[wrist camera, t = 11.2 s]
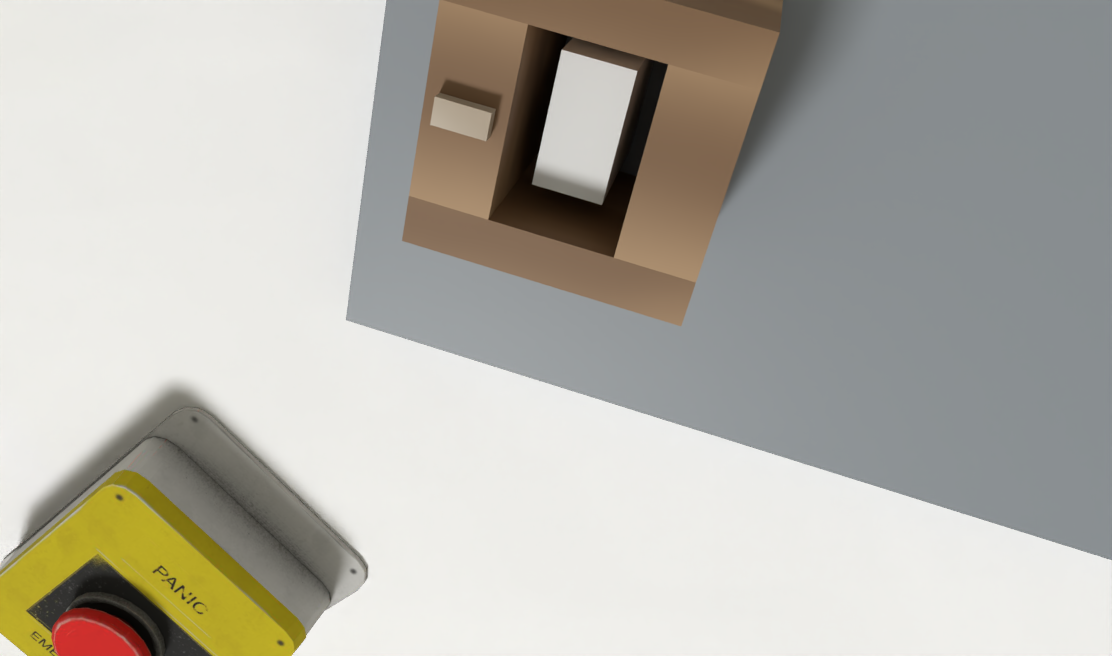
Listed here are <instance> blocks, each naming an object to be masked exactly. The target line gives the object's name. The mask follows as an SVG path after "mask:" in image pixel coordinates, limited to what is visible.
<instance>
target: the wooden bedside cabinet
mask: <svg viewBox="0 0 1112 656" xmlns="http://www.w3.org/2000/svg"><path fill="white" fill-rule="evenodd" d="M782 6H783V0H439V6H438V12H437V18H436V25H435V31H434V38H433V44H432V51H431V57H430V63H429V70H428V76H427V83H426V89H425V95H424V102H423V108H422V115H421V121H420V128H419V134H418V140H417V147H416V153H415V160H414V166H413V173H412V179H411V185H410V192H409V198H408V205H407V211H406V218H405V224H404V230H403V237H402V241H404V242H407V243H410V244H414V245H417V246H420V247H424V248H427V249H430V250H433V251H437V252H440V253H443V254H446V255H450V256H453V257H456V258H459V259H463V260H466V261H469V262H472V263H476V264H479V265H482V266H485V267H489V268H492V269H495V270H498V271H502V272H505V273H508V274H512V275H515V276H518V277H521V278H525V279H528V280H531V281H534V282H538V283H541V284H544V285H547V286H551V287H554V288H557V289H560V290H564V291H567V292H570V293H573V294H577V295H580V296H583V297H587V298H590V299H593V300H596V301H600V302H603V303H606V304H609V305H613V306H616V307H619V308H622V309H626V310H629V311H632V312H635V313H639V314H642V315H645V316H648V317H652V318H655V319H658V320H662V321H665V322H668V323H671V324H675V325H678V326H682V323H683V320H684V317H685V314H686V311H687V308H688V305H689V302H690V299H691V296H692V293H693V290H694V287H695V284H696V281H697V278H698V275H699V272H700V269H701V266H702V263H703V260H704V257H705V254H706V251H707V248H708V245H709V242H710V239H711V236H712V233H713V230H714V227H715V224H716V221H717V218H718V215H719V212H720V209H721V206H722V203H723V200H724V198H725V195H726V192H727V189H728V186H729V183H730V180H731V177H732V174H733V171H734V168H735V165H736V162H737V159H738V156H739V153H740V150H741V147H742V144H743V141H744V138H745V135H746V132H747V129H748V126H749V123H750V120H751V117H752V114H753V111H754V108H755V105H756V102H757V99H758V96H759V93H760V90H761V87H762V84H763V81H764V78H765V75H766V72H767V69H768V66H769V63H770V60H771V57H772V54H773V51H774V48H775V45H776V42H777V39H778V36H779V34H780V26H781V16H782ZM567 36H571V37H574V38H578V39H581V40H585V41H588V42H592V43H595V44H599V45H602V46H606V47H609V48H613V49H616V50H620V51H623V52H627V53H630V54H634V55H637V56H641V57H644V58H648V59H651V60H655V61H658V62H662V63H665V64H668V67H667V71H666V74H665V78H664V81H663V85H662V88H661V92H660V96H659V99H658V103H657V106H656V110H655V113H654V117H653V120H652V124H651V127H650V131H649V135H648V138H647V142H646V145H645V149H644V152H643V156H642V159H641V163H640V166H639V170H638V174H637V176H634V175H631V174H627V173H624V172H620V171H619V172H618V174H617V176H616V178H615V180H614V182H613V184H612V186H611V188H610V190H609V192H608V194H607V196H606V198H605V200H604V202H603V204H602V205H600V204H597V203H593V202H590V201H587V200H583V199H580V198H577V197H573V196H570V195H566V194H563V193H560V192H556V191H553V190H550V189H546V188H543V187H539V186H536V185H533V184H532V181H533V177H534V172H535V168H536V163H537V159H538V154H539V150H540V145H541V141H542V136H543V132H544V127H545V123H546V118H547V114H548V109H549V105H550V100H551V96H552V91H553V87H554V82H555V78H556V73H557V69H558V64H559V60H560V55H561V51H562V49H563V48H564V47H565V43H566V39H567Z"/></svg>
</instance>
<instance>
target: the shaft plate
mask: <svg viewBox="0 0 1112 656" xmlns="http://www.w3.org/2000/svg"><path fill="white" fill-rule="evenodd" d="M438 6H439V0H387V1H386V9H385V17H384V24H383V32H382V40H381V48H380V56H379V64H378V72H377V80H376V87H375V95H374V103H373V111H372V119H371V127H370V135H369V143H368V151H367V158H366V166H365V174H364V182H363V190H362V198H361V206H360V214H359V221H358V229H357V237H356V245H355V253H354V261H353V269H352V277H351V285H350V292H349V300H348V308H347V316H346V320H348V321H351V322H354V323H357V324H360V325H364V326H367V327H370V328H373V329H376V330H380V331H383V332H386V333H389V334H392V335H395V336H399V337H402V338H405V339H408V340H411V341H415V342H418V343H421V344H424V345H427V346H431V347H434V348H437V349H440V350H443V351H447V352H450V353H453V354H456V355H459V356H462V357H466V358H469V359H472V360H475V361H478V362H482V363H485V364H488V365H491V366H494V367H498V368H501V369H504V370H507V371H510V372H514V373H517V374H520V375H523V376H526V377H529V378H533V379H536V380H539V381H542V382H545V383H549V384H552V385H555V386H558V387H561V388H565V389H568V390H571V391H574V392H577V393H581V394H584V395H587V396H590V397H593V398H596V399H600V400H603V401H606V402H609V403H612V404H616V405H619V406H622V407H625V408H628V409H632V410H635V411H638V412H641V413H644V414H648V415H651V416H654V417H657V418H660V419H663V420H667V421H670V422H673V423H676V424H679V425H683V426H686V427H689V428H692V429H695V430H699V431H702V432H705V433H708V434H711V435H715V436H718V437H721V438H724V439H727V440H730V441H734V442H737V443H740V444H743V445H746V446H750V447H753V448H756V449H759V450H762V451H766V452H769V453H772V454H775V455H778V456H782V457H785V458H788V459H791V460H794V461H797V462H801V463H804V464H807V465H810V466H813V467H817V468H820V469H823V470H826V471H829V472H833V473H836V474H839V475H842V476H845V477H849V478H852V479H855V480H858V481H861V482H864V483H868V484H871V485H874V486H877V487H880V488H884V489H887V490H890V491H893V492H896V493H900V494H903V495H906V496H909V497H912V498H916V499H919V500H922V501H925V502H928V503H931V504H935V505H938V506H941V507H944V508H947V509H951V510H954V511H957V512H960V513H963V514H967V515H970V516H973V517H976V518H979V519H983V520H986V521H989V522H992V523H995V524H998V525H1002V526H1005V527H1008V528H1011V529H1014V530H1018V531H1021V532H1024V533H1027V534H1030V535H1034V536H1037V537H1040V538H1043V539H1046V540H1049V541H1053V542H1056V543H1059V544H1062V545H1065V546H1069V547H1072V548H1075V549H1078V550H1081V551H1085V552H1088V553H1091V554H1094V555H1097V556H1101V557H1104V558H1107V559H1110V560H1112V0H783V6H782V16H781V26H780V34H779V36H778V39H777V42H776V45H775V48H774V51H773V54H772V57H771V60H770V63H769V66H768V69H767V72H766V75H765V78H764V81H763V84H762V87H761V90H760V93H759V96H758V99H757V102H756V105H755V108H754V111H753V114H752V117H751V120H750V123H749V126H748V129H747V132H746V135H745V138H744V141H743V144H742V147H741V150H740V153H739V156H738V159H737V162H736V165H735V168H734V171H733V174H732V177H731V180H730V183H729V186H728V189H727V192H726V195H725V198H724V200H723V203H722V206H721V209H720V212H719V215H718V218H717V221H716V224H715V227H714V230H713V233H712V236H711V239H710V242H709V245H708V248H707V251H706V254H705V257H704V260H703V263H702V266H701V269H700V272H699V275H698V278H697V281H696V284H695V287H694V290H693V293H692V296H691V299H690V302H689V305H688V308H687V311H686V314H685V317H684V320H683V323H682V326H678V325H675V324H671V323H668V322H665V321H662V320H658V319H655V318H652V317H648V316H645V315H642V314H639V313H635V312H632V311H629V310H626V309H622V308H619V307H616V306H613V305H609V304H606V303H603V302H600V301H596V300H593V299H590V298H587V297H583V296H580V295H577V294H573V293H570V292H567V291H564V290H560V289H557V288H554V287H551V286H547V285H544V284H541V283H538V282H534V281H531V280H528V279H525V278H521V277H518V276H515V275H512V274H508V273H505V272H502V271H498V270H495V269H492V268H489V267H485V266H482V265H479V264H476V263H472V262H469V261H466V260H463V259H459V258H456V257H453V256H450V255H446V254H443V253H440V252H437V251H433V250H430V249H427V248H424V247H420V246H417V245H414V244H410V243H407V242H404V241H402V237H403V230H404V224H405V218H406V211H407V205H408V198H409V192H410V185H411V179H412V173H413V166H414V160H415V153H416V147H417V140H418V134H419V128H420V121H421V115H422V108H423V102H424V95H425V89H426V83H427V76H428V70H429V63H430V57H431V51H432V44H433V38H434V31H435V25H436V18H437V12H438ZM667 67H668V64H665V63H662V62H658V61H655V60H651V59H648V58H644V57H641V56H637V55H634V54H630V53H627V52H623V51H620V50H616V49H613V48H609V47H606V46H602V45H599V44H595V43H592V42H588V41H585V40H581V39H578V38H574V37H571V36H567V39H566V43H565V47H564V48H563V49H562V51H561V55H560V60H559V64H558V69H557V73H556V78H555V82H554V87H553V91H552V96H551V100H550V105H549V109H548V114H547V118H546V123H545V127H544V132H543V136H542V141H541V145H540V150H539V154H538V159H537V163H536V168H535V172H534V177H533V181H532V184H533V185H536V186H539V187H543V188H546V189H550V190H553V191H556V192H560V193H563V194H566V195H570V196H573V197H577V198H580V199H583V200H587V201H590V202H593V203H597V204H600V205H602V204H603V202H604V200H605V198H606V196H607V194H608V192H609V190H610V188H611V186H612V184H613V182H614V180H615V178H616V176H617V174H618V172H619V171H620V172H624V173H627V174H631V175H634V176H637V174H638V170H639V166H640V163H641V159H642V156H643V152H644V149H645V145H646V142H647V138H648V135H649V131H650V127H651V124H652V120H653V117H654V113H655V110H656V106H657V103H658V99H659V96H660V92H661V88H662V85H663V81H664V78H665V74H666V71H667Z"/></svg>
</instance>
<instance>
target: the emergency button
mask: <svg viewBox="0 0 1112 656" xmlns="http://www.w3.org/2000/svg"><path fill="white" fill-rule="evenodd" d="M366 575H367V568H366V567H365V565H364V564H363V562H362V560H361V559H360V558H359V557H358V556H357V555H356V554H355V553H354V552H353V551H352V550H351V549H350V548H349V547H348V546H347V545H346V544H345V543H344V542H343V541H342V540H341V539H340V538H339V537H338V536H336V535H335V534H334V533H333V532H332V531H331V530H330V529H329V528H328V527H327V526H326V525H325V524H324V523H323V522H322V521H321V520H320V519H319V518H318V517H317V516H316V515H315V514H314V513H313V512H312V511H310V510H309V509H308V508H307V507H306V506H305V505H304V504H303V503H302V502H301V501H300V500H299V499H298V498H297V497H296V496H295V495H294V494H293V493H292V492H291V491H290V490H289V489H288V488H287V487H286V486H284V485H283V484H282V483H281V482H280V481H279V480H278V479H277V478H276V477H275V476H274V475H273V474H272V473H271V472H270V471H269V470H268V469H267V468H266V467H265V466H264V465H263V464H262V463H261V462H260V461H258V460H257V459H256V458H255V457H254V456H253V455H252V454H251V453H250V452H249V451H248V450H247V449H246V448H245V447H244V446H243V445H242V444H241V443H240V442H239V441H238V440H237V439H236V438H235V437H234V436H232V435H231V434H230V433H229V432H228V431H227V430H226V429H225V428H224V427H223V426H222V425H221V424H220V423H219V422H218V421H217V420H216V419H215V418H214V417H213V416H211V415H210V414H208V413H206V412H205V411H203V410H202V409H200V408H191V407H185V408H182V409H180V410H178V411H176V412H174V413H173V414H172V415H170V416H169V417H168V418H167V419H166V420H165V421H164V422H162V423H161V424H160V425H159V426H158V427H157V428H155V429H154V430H153V431H152V432H151V433H150V434H149V435H147V436H146V437H145V438H144V439H143V440H142V441H140V442H139V443H138V444H137V445H136V446H135V447H133V448H132V449H131V450H130V451H129V452H128V453H127V454H125V455H124V456H123V457H122V458H121V459H120V460H118V461H117V462H116V463H115V464H114V465H113V466H112V467H110V468H109V469H108V470H107V471H106V472H105V473H103V474H102V475H101V476H100V477H99V478H98V479H96V480H95V481H94V482H93V483H92V484H91V485H90V486H88V487H87V488H86V489H85V490H84V491H83V492H81V493H80V494H79V495H78V496H77V497H76V498H74V499H73V500H72V501H71V502H70V503H69V504H68V505H66V506H65V507H64V508H63V509H62V510H61V511H59V512H58V513H57V514H56V515H55V516H54V517H53V518H51V519H50V520H49V521H48V522H47V523H46V524H44V525H43V526H42V527H41V528H40V529H39V530H37V531H36V532H35V533H34V534H33V535H32V536H31V537H29V538H28V539H27V540H26V541H25V542H24V543H22V544H21V545H20V546H19V547H18V548H17V549H16V550H14V551H13V552H12V553H11V554H10V555H9V556H7V557H6V558H5V559H4V560H3V561H2V563H1V564H0V633H1V634H2V635H3V636H5V637H6V638H7V639H8V640H9V641H11V642H12V643H13V644H14V645H15V646H16V647H18V648H19V649H20V650H21V651H22V652H24V653H25V654H26V655H27V656H292V654H293V653H294V652H295V651H296V650H297V648H298V647H299V646H300V645H301V643H302V642H303V641H304V639H305V638H306V635H307V633H308V632H309V631H310V629H311V628H312V627H313V625H314V624H315V623H316V621H317V620H318V619H319V617H320V616H321V615H322V613H323V612H324V611H325V610H327V609H329V608H330V607H332V606H333V605H335V604H337V603H338V602H340V601H342V600H343V599H345V598H346V597H348V596H350V595H351V594H353V593H355V592H356V591H358V589H359V588H360V587H361V586H362V585H363V584H364V582H365V581H366Z"/></svg>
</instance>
